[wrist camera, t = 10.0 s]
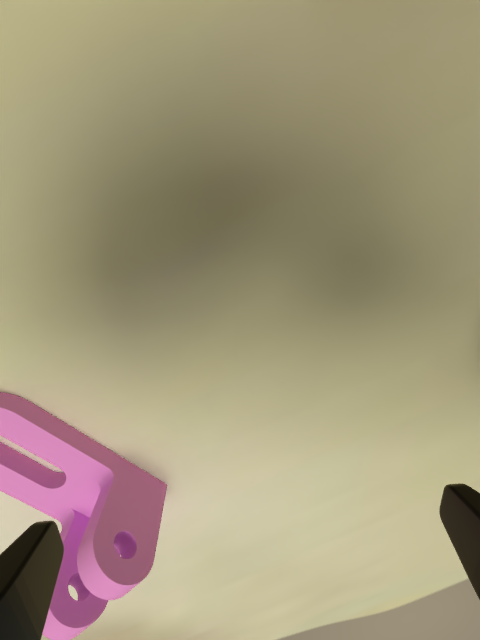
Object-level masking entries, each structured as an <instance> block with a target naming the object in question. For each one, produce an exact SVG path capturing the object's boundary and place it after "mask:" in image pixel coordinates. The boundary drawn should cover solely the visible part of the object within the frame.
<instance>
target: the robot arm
mask: <svg viewBox="0 0 480 640" xmlns="http://www.w3.org/2000/svg"><path fill="white" fill-rule="evenodd" d="M440 517H441V520H442V523H443V525H444V527H445V529H446V531H447V533H448V535H449V537H450V540H451V542H452V544H453V546H454V548H455V550H456V552H457V554H458V556H459V559H460V561H461V563H462V565H463V567H464V569H465V571H466V573H467V575H468V578H469V580H470V582H471V584H472V586H473V588H474V590H475V592H476V594H477V596H478V597H479V599H480V493H479V492H477V491H475V490H474V489H472V488H471V487H469V486H467V485H465V484H449V485H446V486H445V488H444V491H443V496H442V500H441V505H440ZM63 554H64V545H63V542H62V539H61V536H60V533H59V530H58V527H57V525H56V523H55V522H54V521H43V522H36V523H34V524H33V525H31V526H30V527H29V528H28V529H27V530H26V531H25V532H24V533H23V534H22V535H21V536H19V537H18V538H17V539H16V540H15V541H14V542H13V543H12V544H11V545H10V546H9V547H8V548H7V549H6V550H5V551H4V552H2V553H1V554H0V640H41V636H42V633H43V629H44V626H45V622H46V619H47V615H48V611H49V607H50V604H51V600H52V596H53V593H54V589H55V585H56V581H57V578H58V574H59V570H60V567H61V563H62V559H63Z"/></svg>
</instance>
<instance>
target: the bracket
mask: <svg viewBox="0 0 480 640" xmlns="http://www.w3.org/2000/svg"><path fill="white" fill-rule="evenodd" d="M0 435H1V436H3V437H4V438H6V439H8V440H10V441H12V442H13V443H15V444H17V445H19V446H21V447H22V448H24V449H26V450H28V451H29V452H31V453H33V454H35V455H37V456H38V457H40V458H42V459H44V460H46V461H47V462H49V463H51V464H53V465H54V466H56V467H58V468H60V469H61V470H62V471H63V472H64V473H57V472H54V471H52V470H50V469H48V468H46V467H44V466H43V465H41V464H39V463H37V462H35V461H34V460H32V459H30V458H28V457H26V456H24V455H23V454H21V453H19V452H17V451H15V450H14V449H12V448H10V447H8V446H6V445H5V444H3V443H1V442H0V491H2V492H4V493H6V494H8V495H10V496H12V497H14V498H16V499H18V500H20V501H22V502H24V503H26V504H28V505H30V506H32V507H33V508H35V509H37V510H39V511H41V512H43V513H45V514H47V515H49V516H51V517H53V518H55V519H57V520H59V521H60V522H61V524H62V531H61V533H60V536H61V539H62V542H63V545H64V554H63V559H62V563H61V567H60V570H59V574H58V578H57V581H56V585H55V589H54V593H53V596H52V600H51V604H50V607H49V611H48V615H47V619H46V622H45V626H44V629H43V633H42V634H43V635H44V636H45V637H47V638H49V639H51V640H70V639H72V638H74V637H76V636H78V635H79V634H80V633H81V632H82V631H84V630H85V629H86V628H87V627H88V626H89V625H91V624H92V623H93V622H94V621H95V620H96V619H97V618H98V617H99V616H100V615H101V614H102V612H103V611H104V609H105V607H106V605H107V602H108V600H115V599H118V598H121V597H123V596H124V595H126V594H127V593H128V592H129V591H130V590H131V589H133V588H134V587H135V586H136V585H137V584H138V583H140V582H141V581H142V580H143V579H144V578H145V577H146V576H147V575H148V573H149V572H150V570H151V568H152V565H153V562H154V557H155V551H156V546H157V540H158V534H159V528H160V523H161V517H162V511H163V506H164V500H165V494H166V488H167V484H165V483H163V482H162V481H160V480H159V479H157V478H155V477H154V476H152V475H150V474H149V473H147V472H145V471H144V470H142V469H140V468H139V467H137V466H135V465H134V464H132V463H130V462H129V461H127V460H125V459H124V458H122V457H121V456H119V455H117V454H116V453H114V452H112V451H111V450H109V449H107V448H106V447H104V446H102V445H101V444H99V443H97V442H96V441H94V440H92V439H91V438H89V437H87V436H86V435H84V434H83V433H81V432H79V431H78V430H76V429H74V428H73V427H71V426H69V425H68V424H66V423H64V422H63V421H61V420H59V419H58V418H56V417H54V416H53V415H51V414H49V413H48V412H46V411H45V410H43V409H41V408H40V407H38V406H36V405H35V404H33V403H31V402H30V401H28V400H26V399H24V398H22V397H19V396H16V395H13V394H9V393H2V392H0ZM120 554H121V557H120ZM68 585H71V586H73V587H74V588H75V589H76V591H77V594H78V601H76V600H74V599H73V598H72V597H71V596H70V594H69V591H68Z"/></svg>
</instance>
